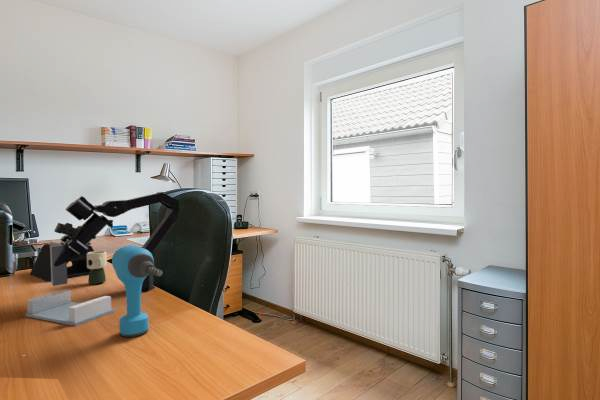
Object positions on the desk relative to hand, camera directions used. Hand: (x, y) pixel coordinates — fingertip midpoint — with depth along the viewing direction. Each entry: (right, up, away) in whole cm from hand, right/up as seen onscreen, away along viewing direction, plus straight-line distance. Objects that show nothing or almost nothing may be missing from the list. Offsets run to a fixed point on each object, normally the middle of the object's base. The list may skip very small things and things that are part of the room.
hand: (53, 264), depth 117 cm
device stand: (-26, -13, +47) cm, 55 cm away
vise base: (+11, -14, -8) cm, 19 cm away
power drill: (+41, -14, -26) cm, 50 cm away
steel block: (+1, -7, +1) cm, 7 cm away
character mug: (-2, -13, +29) cm, 32 cm away
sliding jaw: (+2, -13, -4) cm, 14 cm away
